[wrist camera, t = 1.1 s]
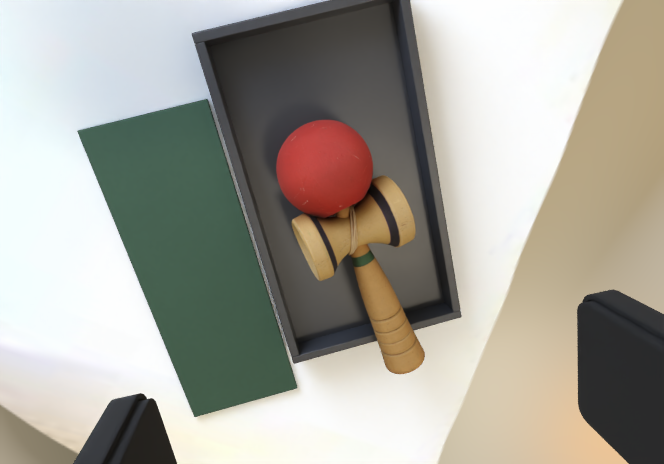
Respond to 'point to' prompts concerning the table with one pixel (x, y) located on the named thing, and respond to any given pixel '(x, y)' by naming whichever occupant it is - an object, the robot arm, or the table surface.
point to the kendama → (350, 224)
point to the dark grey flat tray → (360, 114)
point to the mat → (192, 253)
